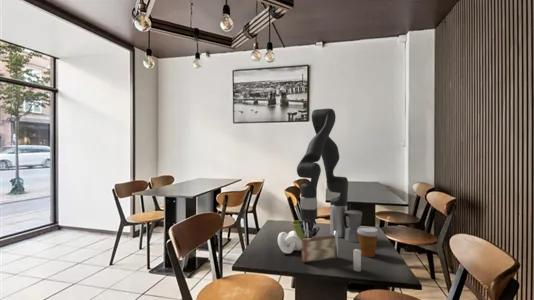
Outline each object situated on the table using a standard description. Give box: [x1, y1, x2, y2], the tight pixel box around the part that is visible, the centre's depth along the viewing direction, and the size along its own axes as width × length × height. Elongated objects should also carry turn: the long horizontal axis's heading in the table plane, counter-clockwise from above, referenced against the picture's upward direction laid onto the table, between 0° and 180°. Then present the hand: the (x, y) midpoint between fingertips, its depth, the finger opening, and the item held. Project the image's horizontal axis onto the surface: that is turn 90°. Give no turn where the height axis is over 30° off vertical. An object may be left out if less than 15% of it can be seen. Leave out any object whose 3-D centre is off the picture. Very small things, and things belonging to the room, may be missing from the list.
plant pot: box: [291, 219, 306, 241], centre depth 159 cm, size 9×9×9 cm
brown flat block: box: [301, 234, 335, 262], centre depth 129 cm, size 16×2×10 cm, turn 111°
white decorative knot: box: [277, 230, 302, 254], centre depth 140 cm, size 11×12×9 cm
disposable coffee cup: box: [357, 226, 379, 258], centre depth 136 cm, size 10×10×12 cm
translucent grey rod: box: [333, 231, 339, 259], centre depth 132 cm, size 2×2×12 cm
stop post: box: [352, 248, 362, 272], centre depth 119 cm, size 3×3×8 cm
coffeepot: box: [343, 206, 363, 243], centre depth 156 cm, size 15×9×18 cm, turn 129°
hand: (308, 244), depth 131 cm, fingers closed
